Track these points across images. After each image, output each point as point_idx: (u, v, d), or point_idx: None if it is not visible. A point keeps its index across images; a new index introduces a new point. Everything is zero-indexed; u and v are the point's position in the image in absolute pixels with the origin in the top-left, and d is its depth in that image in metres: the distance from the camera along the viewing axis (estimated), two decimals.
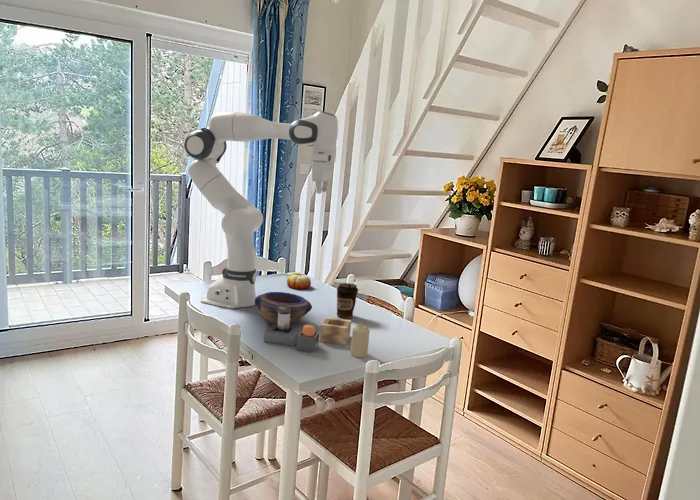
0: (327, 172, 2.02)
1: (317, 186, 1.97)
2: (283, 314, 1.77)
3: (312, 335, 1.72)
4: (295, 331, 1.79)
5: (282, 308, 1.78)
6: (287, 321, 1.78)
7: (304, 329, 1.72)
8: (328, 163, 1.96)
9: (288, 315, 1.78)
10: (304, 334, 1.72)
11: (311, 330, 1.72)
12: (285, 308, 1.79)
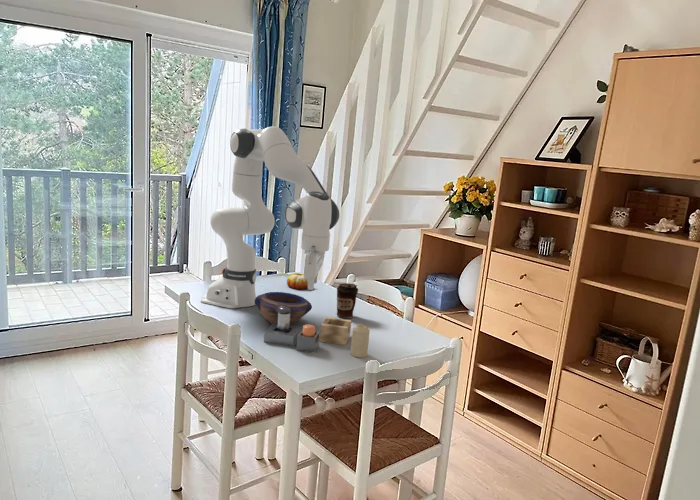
0: None
1: None
2: (283, 314, 1.77)
3: (312, 335, 1.72)
4: (295, 331, 1.79)
5: (282, 308, 1.78)
6: (287, 321, 1.78)
7: (304, 329, 1.72)
8: None
9: (288, 315, 1.78)
10: (304, 334, 1.72)
11: (311, 330, 1.72)
12: (285, 308, 1.79)
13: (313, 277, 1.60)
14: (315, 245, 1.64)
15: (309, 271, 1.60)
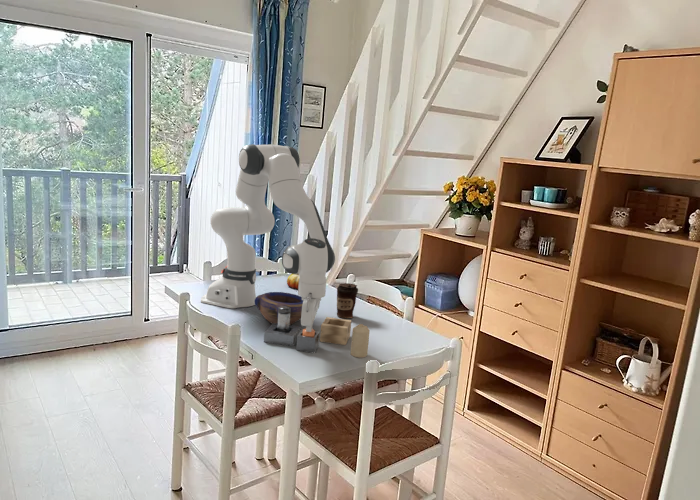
0: None
1: None
2: (283, 314, 1.77)
3: None
4: (295, 331, 1.79)
5: (282, 308, 1.78)
6: (287, 321, 1.78)
7: (304, 333, 1.72)
8: None
9: (288, 315, 1.78)
10: None
11: (311, 334, 1.72)
12: (285, 308, 1.79)
13: (310, 325, 1.63)
14: (312, 292, 1.66)
15: (306, 319, 1.62)
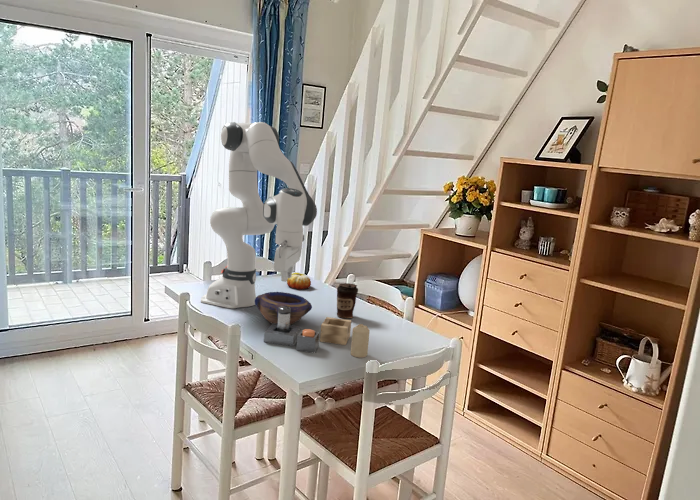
0: None
1: None
2: (283, 314, 1.77)
3: None
4: (295, 331, 1.79)
5: (282, 308, 1.78)
6: (287, 321, 1.78)
7: (304, 334, 1.72)
8: None
9: (288, 315, 1.78)
10: None
11: (311, 335, 1.72)
12: (285, 308, 1.79)
13: (283, 270, 1.66)
14: (287, 240, 1.70)
15: (279, 265, 1.66)
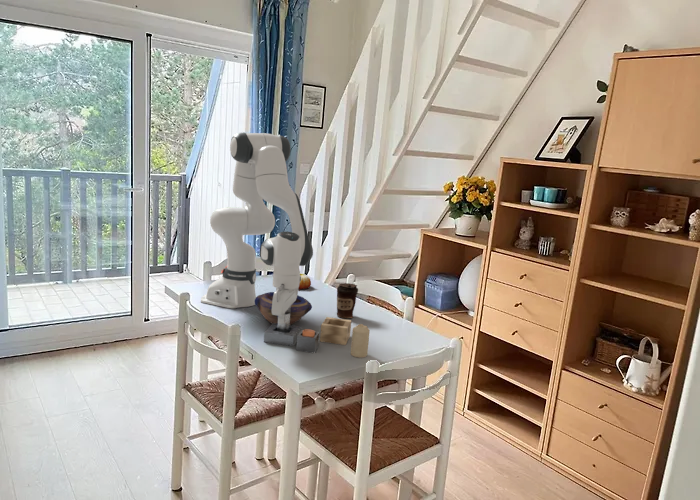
0: None
1: None
2: None
3: None
4: (295, 331, 1.79)
5: None
6: (287, 321, 1.78)
7: (304, 334, 1.72)
8: None
9: (288, 315, 1.78)
10: None
11: (311, 335, 1.72)
12: None
13: (280, 314, 1.69)
14: (284, 283, 1.73)
15: (277, 309, 1.69)
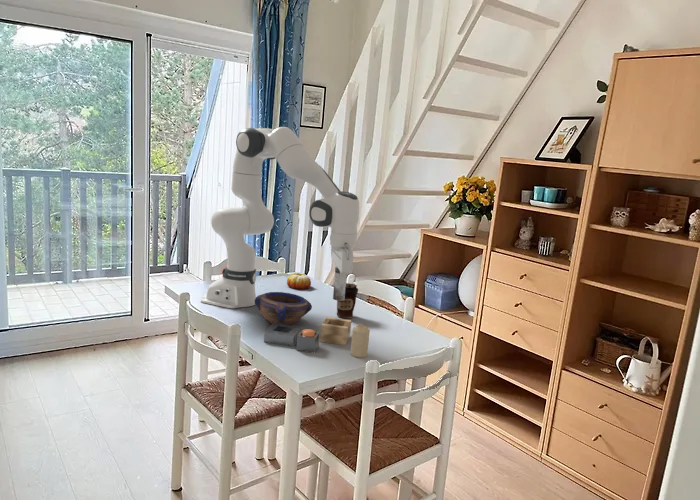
0: (336, 257, 1.80)
1: None
2: None
3: None
4: (295, 331, 1.79)
5: None
6: (345, 280, 1.80)
7: (304, 334, 1.72)
8: None
9: (346, 274, 1.80)
10: None
11: (311, 335, 1.72)
12: None
13: (351, 272, 1.71)
14: (347, 242, 1.75)
15: (347, 267, 1.70)
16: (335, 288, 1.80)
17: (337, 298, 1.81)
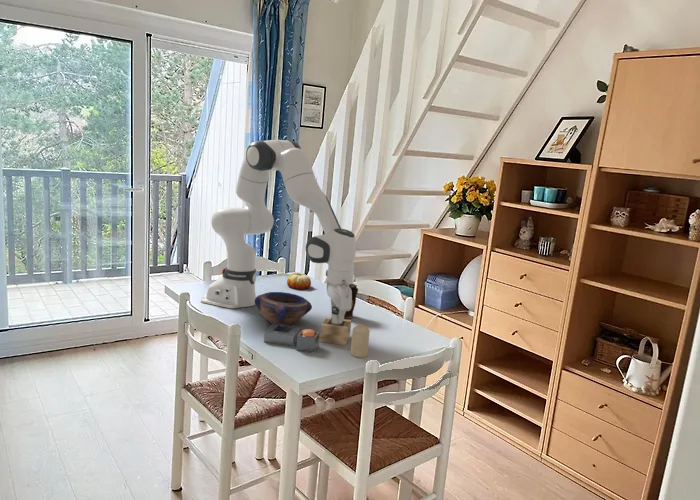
0: (333, 293, 1.82)
1: None
2: None
3: None
4: (295, 331, 1.79)
5: (336, 309, 1.82)
6: (341, 321, 1.83)
7: (304, 334, 1.72)
8: None
9: None
10: None
11: (311, 335, 1.72)
12: (338, 309, 1.83)
13: (349, 309, 1.74)
14: (345, 279, 1.77)
15: (346, 304, 1.73)
16: None
17: None
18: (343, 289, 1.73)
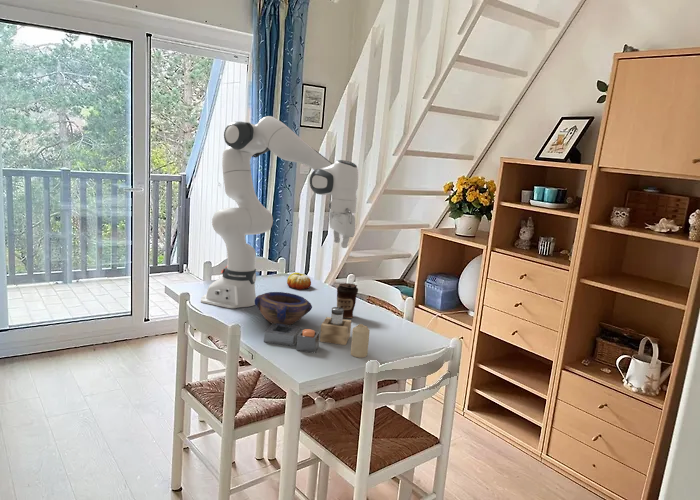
0: (337, 223, 1.90)
1: None
2: (339, 315, 1.82)
3: None
4: (295, 331, 1.79)
5: (336, 309, 1.82)
6: None
7: (304, 334, 1.72)
8: (331, 211, 1.93)
9: (342, 315, 1.83)
10: None
11: (311, 335, 1.72)
12: (338, 309, 1.83)
13: (353, 235, 1.82)
14: (348, 207, 1.85)
15: (350, 230, 1.81)
16: None
17: None
18: (347, 216, 1.81)
